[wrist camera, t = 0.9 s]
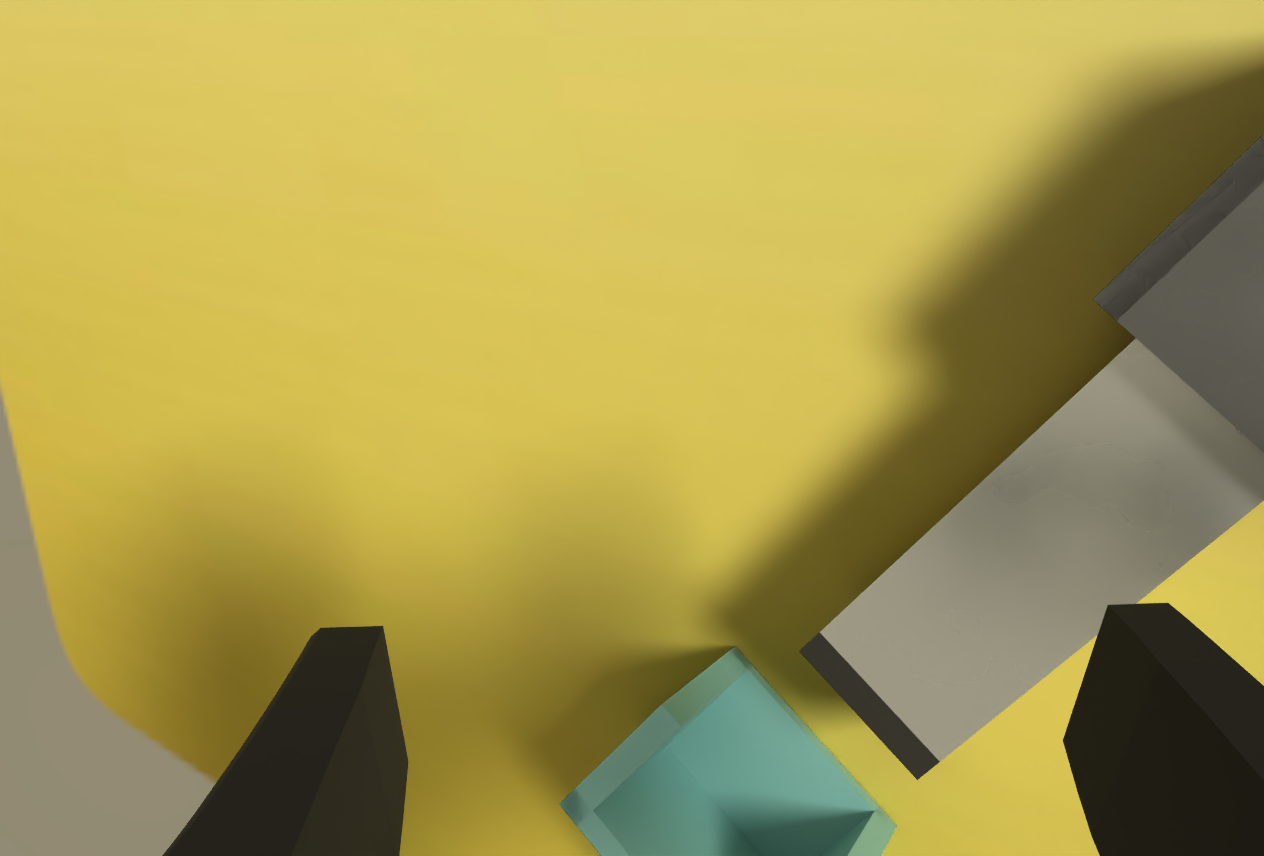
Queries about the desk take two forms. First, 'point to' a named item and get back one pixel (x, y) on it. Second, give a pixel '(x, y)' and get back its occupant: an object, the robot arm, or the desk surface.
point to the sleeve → (1206, 295)
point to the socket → (726, 780)
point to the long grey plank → (1039, 558)
